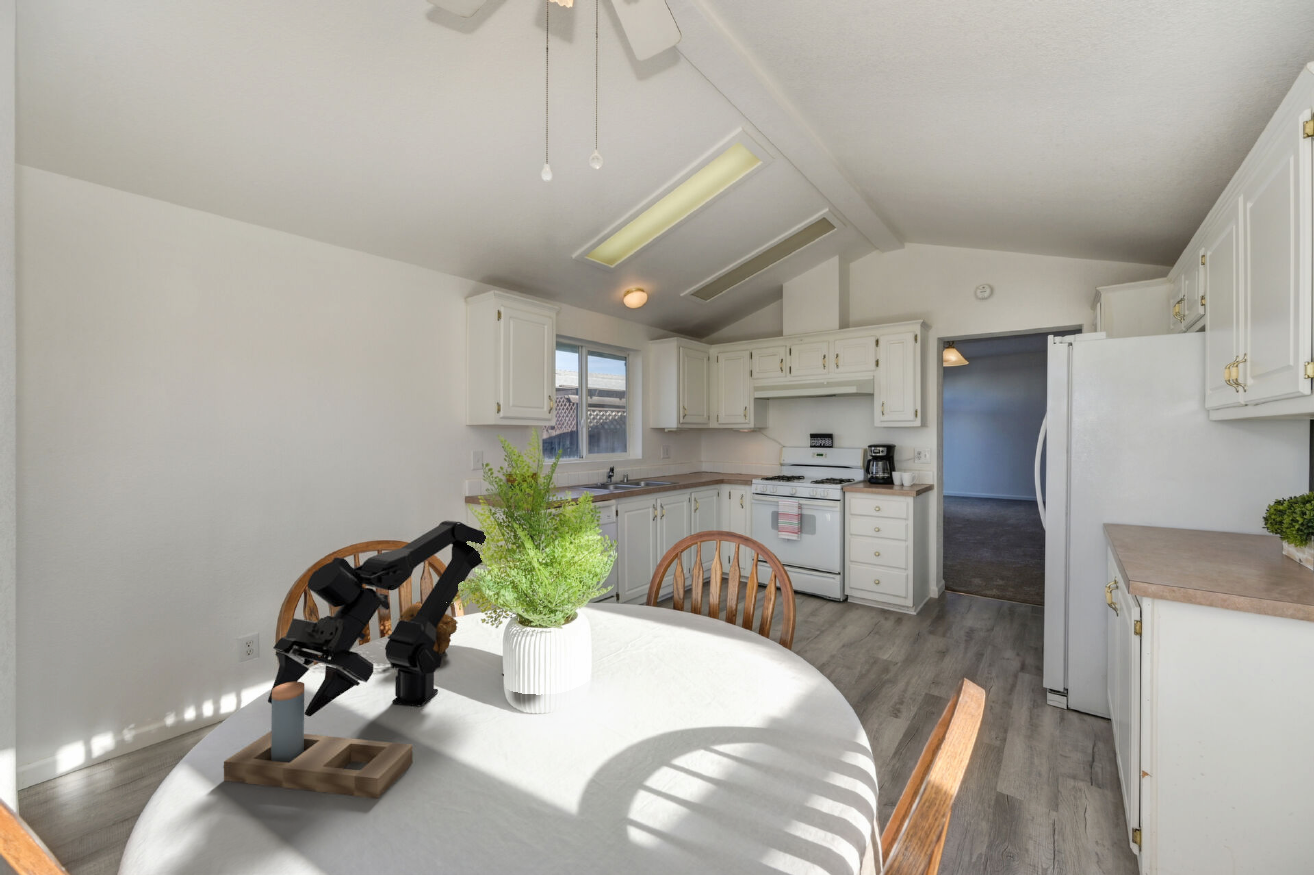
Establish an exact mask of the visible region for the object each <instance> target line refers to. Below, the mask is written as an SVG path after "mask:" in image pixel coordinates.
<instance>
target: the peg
mask: <svg viewBox="0 0 1314 875" xmlns="http://www.w3.org/2000/svg"><path fill="white" fill-rule="evenodd" d="M271 690H272V704H271V730H270V731H271V761H277V762H287V763H290V762H291V761H293V760H294V759H295V758H297V757H298V756H299V755H301V754H302V753H303V752H304V734H305V683H304V682H303V681H297V682H288V683H284V684H281V685H278V686H276V687H275V688H273V689H272V688H271Z"/></svg>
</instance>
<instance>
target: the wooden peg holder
mask: <svg viewBox="0 0 1314 875" xmlns="http://www.w3.org/2000/svg"><path fill="white" fill-rule="evenodd" d="M413 748H414V746H413V744H410V743H409V744H408V743H406V744H405V743H398V742H388V741H379V740H369V739H367V740H366V739H360V738H349V737H339V736H328V735H318V734H309V733H304V752H303V753H302V754H301V755H299V756H298V757H297V758H295V759H294V760H293V761H291V762H290V763H287V762H277V761H271V730H270V731H269V732H267V733H266V734H264V735H262V736H261V737H259V738H258V739H256V740H255V741H253V742H252V743H250V744H249V745H247V746H245V747H244V748H242V749H241V750H239V751H238V752H236V753H234V754H233V755H232V756H230V757H228V758H226V759H225V760H223V781H225V782H233V783H243V784H252V785H260V786H268V787H278V788H284V789H285V788H287V789H292V790H293V789H295V790H303V791H309V792H320V793H330V794H335V795H337V794H338V795H344V796H352V797H353V796H354V797H362V798H371V799H379V798H380V797H381V795H383V794H384V793H385V791H387V790H388V789H389V788H390V787H391V786H392V785H393V784H394V783H395V781H397V780H398V778H399V777H400V776H402V774H404V773H405V771H406V770H407V769H409V767H410V766H411V765H412V764H413V756H414V755H413V751H414V750H413ZM352 762H353V763H363V764H366V765H365V766H363V768H361V769H360V770H359V769H358V770H357V769H348V768H345V767H346V766H347V765H349V763H352Z"/></svg>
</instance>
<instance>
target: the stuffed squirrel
mask: <svg viewBox="0 0 1314 875" xmlns="http://www.w3.org/2000/svg"><path fill="white" fill-rule="evenodd" d="M422 605H423V604H422V603H421V601H416V602H415V603H412V604H410V605H409V606H408V607H407V608H405V609H404V610H403V611H402V612H401V613H400V615H399V618H398V619H397V621H398V622H399V621H400V620H404V621H409V620H411V619H412V618H414V617H415V616H416V614H417V612H418V611H419V609H420V608H421V606H422ZM457 624H459V622H458V620H456V619H455V618H454V617H453V616H451V615H450V614H448V613H445V614H444V616H443V618H442V619H441V621H440V622H439V624H438V626H437V628H436V643H435V646H434V648H433V649H434V650H435V651H436V652H437V653H439V654H440V655H442V654H443V653H444V652H446V651H447V649H449V647H450V643H451V641H452V640H451V636H452V635H453V634H455V633H456V632H457V629H458V626H457Z"/></svg>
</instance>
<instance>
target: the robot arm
mask: <svg viewBox="0 0 1314 875" xmlns="http://www.w3.org/2000/svg"><path fill="white" fill-rule="evenodd" d="M483 531H484V530H482V529H481V530H480V529H477V528H474V527H471V526H469V525H468V524H465V523H463V522H461V521H456V520H444V521H441V522H440V523H439V524H438V525H437V526H435V527H434V528H432V529H431V530H428V531H427V532H425V533H423V534H422V535H420V536H418V537H417V538H415V539H414V540H412V541H410V542H409V543H407V544H405V545H403V546H402V547H401V548H397V549H394V550H390V551H383V552H381V553H379V554H376V555H373V556H370V557H368V558H367V559H366V560H365V561H364V562H363V563H362V564H359V565H358V566H355V567H353V566H351V565H350V563H349V561H347V560H346V559H345V558H344V557H338V556H335V557H334V558H333V559H332V560H331V561H330V562H327V563H326V564H323V565H321V567H319V568H318V569H317V570H314V571H313V572H312V574H310V577H309V579H308V580H307V588H308V589H309V590H310V591H311V592H312V593H314V594H315V595H317V597H319V598H320V599H321V600H323V601H324V602H325V603H326V604H328V605H329V606H331V607H332V608H337V610H336V612H334V614H333V615H332V616H331V615H326V616H324V617H321V618H319V619H318V621H313V620H309V619H308V620H307V619H301V618H295V617H293V618H292V620H291V622H290V624H289V627H288V629H287V632H286V634H285V636H283V637H280V638H279V640H277V642H276V643H275V645H274V646H273V650H275V657H277V660H278V665H279V666H278V670H277V674H276V676H275V679H274V683H273V685H272V688H271V691H270V692H269V696H268V699H267V702H268V703H269V704H270V705H272V689H273V688H275V687H276V686H278V685H281V684H284V683H288V682H299V680H300V679H302V678H303V676H304V675H305V674H306V673H307V672H308V671H309V670H310V668H308V667H309V666H310V665H312V664H313V663H314V662H316V663H319V664H324V665H325V671H324V679H323V681H322V682H321V684H320V686H319V687H318V689H317V691H316V692H315V693H314V695H313V697H312V698H311V700H310V701H309V704H308V705H307V707H306V709H305V710H304V716H307V717H311V716H313V715H314V714H316V713H317V712H319V711H320V710H321V709H323V708H324V707H325V706H327V705H328V704H330V703H331V702H332V701H334V700H335V699H337V698H338V697H339V696H341V695H343V694H344V693H346V692H348V691H349V690H350V689H352V688H354V687H355V686H356V687H358V686H360V685H361V682H362V683H368V681H369V680H370V678H371V676H372V675H373V674H374V664H373V663H372V662H371V661H369V660H368V659H367V658H365V657H363V655H361V654H360V653H358V652H355V651H351V649H352V648H353V646H354V645H355V643H356V642H357V641H358V640H360V641H363V640H364V639H365V638H366V636H367V634H366V633H364V630H365V629H366V627H367V626H368V624H369V623H370V621H371V619H372V618H373V617H374V615H375V613H376V612H377V611H378V609H381V610H384V611H389V610H390V606H391V605H390V601H389V595H388V594H385V593H379V592H378V591H376V590H375V589H379V590H386V591H395V590H397V589H399V588H400V587H401V586H402V585H403V584H404V583H405V582H406V581H408V580H409V579H410V578H411V576H412V575H413V572H414V570H415V569H416V568H417V567H418V566H420V565H421V564H422V563H423V562H426V561H427V560H428V559H430V558H432V557H433V556H435V555H436V554H438V553H439V552H440V551H442V550H443V549H445V548H447V547H448V546H450V545H452V546H451V559H450V561H449V562H448V564H447V565H446V567H445V569H444V570H443V572H442V573H441V575H440V576H439V578H438V580H437V581H436V583H435V584H434V586H433V587H432V589H431V591H430V593H429V594H428V595H427V597H426V599H425V600H424V601H423V604H422V606H421V608H420V609H419V611H418V612H417V614H416V616H415V617H414V618H412V619H411V620H409V621H404V620H401V619H400V621H399V620H398V622H397V623H396V626H395V628H394V630H393V631H392V632H391V633H390V634H389V635H388V636H387V639H388V641H387V642H386V644H385V648H384V650H385V657H386V659H387V661H388V662H389V664H390V667H391V669H397V670H396V671H397V672H396V675H395V677H394V678H395V683H394V687H395V688H394V689H395V690H394V694H395V695H394V696H395V698H393V700H392V701H391V704H393V705H394V704H395V705H404V706H405V705H407V706H414V707H416V706H417V707H421V706H423V705H425V704H426V703H427V702H428V701H429V700H430V699H431V698H433V697H434V696H435V695H436V694H437V693H438V692H439V689H438V688H435V672H436V670H437V669H439V668H440V666H441V664H442V659H443V656H442V654H439V653H437V652H436V651H435V650H434V649H433V648H434V646H435V643H436V628H437V626H438V624H439V622H440V621H441V619H442V618H443V616H444V614H447V613H446V612H447V611H448V609H449V607H450V605H452V603H453V601H454V599H455V598H456V596H457V594H458V592H459V591H460V589H459V590H458V584H459V583H460V582H462V581H464V582H465V581H466V580H467V579H468V576H469V574H470V573H471V572H472V571H473V569H475V568H476V567H478V566H480V565H481V564H482V563H484V562H482V560H481V558H480V554H479V553H478V551H476V550H475V549H474V548H473V547H471V546H469V545H467V543H466V542H467V541H471V542H475V543H479V544H481V545H482V543H484V541H485V539H486V536H485V535H484V532H483ZM365 586H366V587H365ZM373 588H374V589H373ZM446 602H447V603H446ZM307 666H308V667H307Z"/></svg>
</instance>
